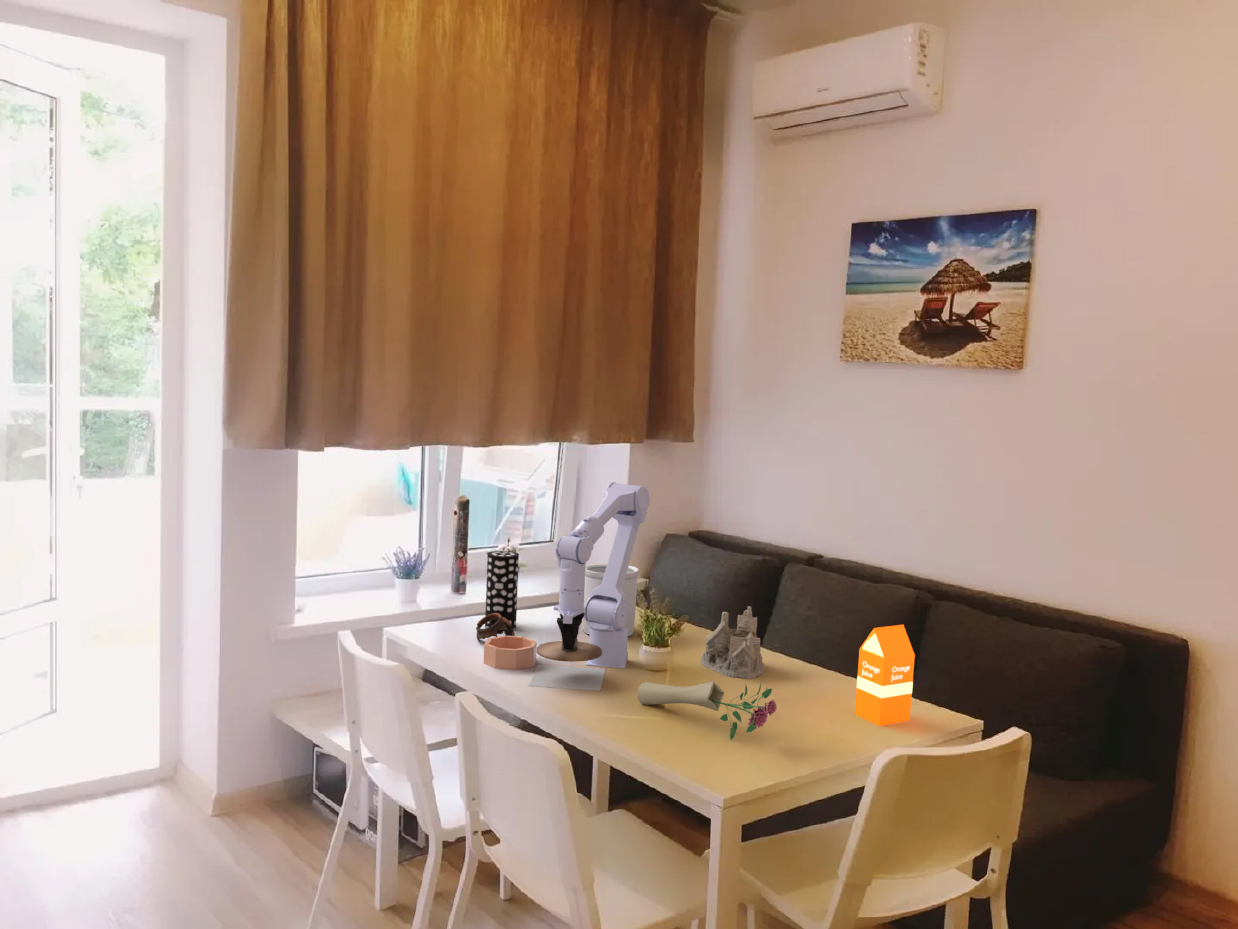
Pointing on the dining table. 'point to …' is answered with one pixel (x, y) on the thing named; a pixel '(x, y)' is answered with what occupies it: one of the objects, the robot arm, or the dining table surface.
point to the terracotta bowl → (510, 652)
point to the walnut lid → (569, 651)
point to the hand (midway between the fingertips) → (569, 646)
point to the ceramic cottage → (735, 648)
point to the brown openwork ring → (494, 626)
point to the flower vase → (706, 701)
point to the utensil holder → (592, 581)
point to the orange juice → (885, 676)
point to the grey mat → (568, 677)
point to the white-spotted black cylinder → (502, 585)
